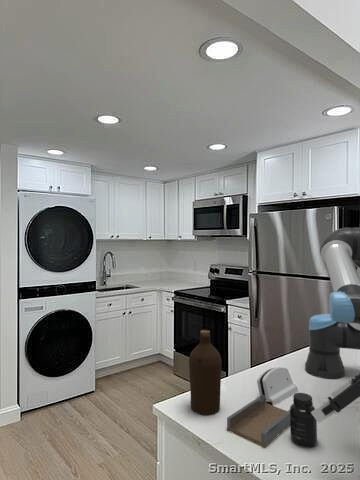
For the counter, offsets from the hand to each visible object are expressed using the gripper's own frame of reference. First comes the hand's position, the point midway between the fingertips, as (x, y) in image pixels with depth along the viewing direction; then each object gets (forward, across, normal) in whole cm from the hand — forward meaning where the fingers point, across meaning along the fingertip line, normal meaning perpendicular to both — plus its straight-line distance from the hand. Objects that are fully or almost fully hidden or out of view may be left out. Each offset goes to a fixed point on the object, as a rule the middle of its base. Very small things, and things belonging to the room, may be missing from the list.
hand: (325, 407), depth 86 cm
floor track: (+21, +1, +5) cm, 22 cm away
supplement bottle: (+13, +1, -4) cm, 13 cm away
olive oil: (+34, -3, +18) cm, 39 cm away
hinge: (+26, +21, +9) cm, 34 cm away
